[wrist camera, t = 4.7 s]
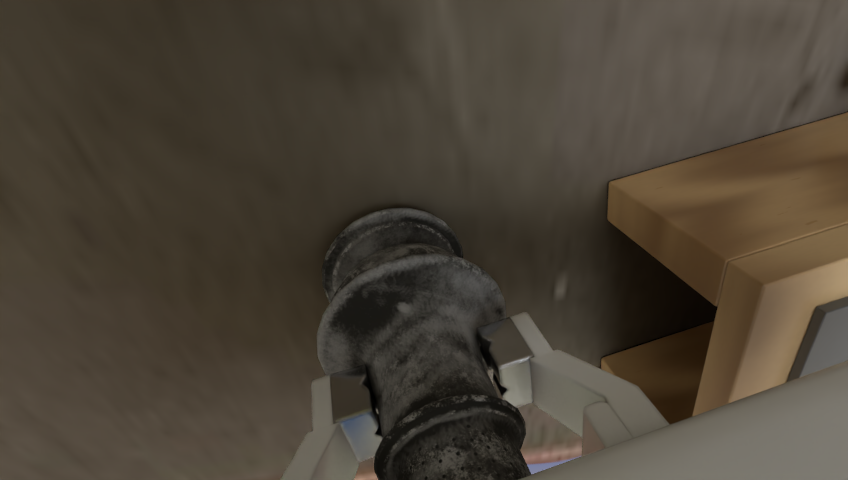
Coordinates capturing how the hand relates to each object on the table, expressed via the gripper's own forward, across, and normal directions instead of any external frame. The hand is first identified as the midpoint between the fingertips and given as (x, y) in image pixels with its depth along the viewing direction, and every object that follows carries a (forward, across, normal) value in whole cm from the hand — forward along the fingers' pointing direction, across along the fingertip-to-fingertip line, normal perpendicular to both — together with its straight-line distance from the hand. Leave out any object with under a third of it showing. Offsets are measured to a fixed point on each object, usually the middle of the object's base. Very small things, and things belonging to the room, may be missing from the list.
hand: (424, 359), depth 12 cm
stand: (+5, -16, +5) cm, 17 cm away
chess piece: (+5, 0, 0) cm, 5 cm away
